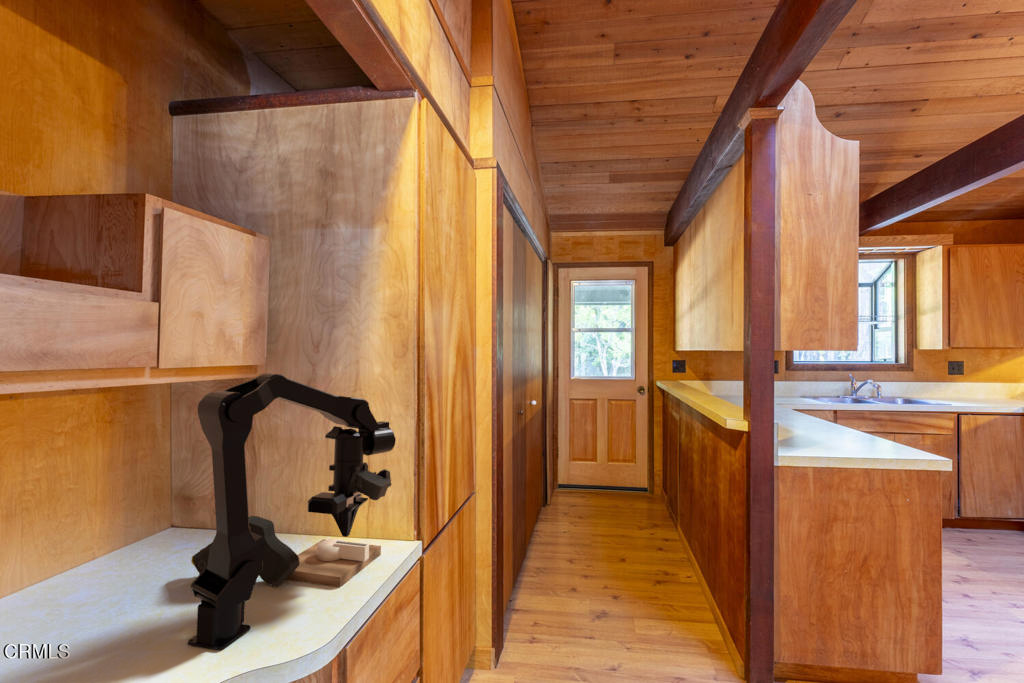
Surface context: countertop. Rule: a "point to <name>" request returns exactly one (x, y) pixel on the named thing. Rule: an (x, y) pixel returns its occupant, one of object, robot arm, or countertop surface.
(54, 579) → the countertop surface
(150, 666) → the countertop surface
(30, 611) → the countertop surface
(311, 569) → the panel
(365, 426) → the robot arm
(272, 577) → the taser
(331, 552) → the cream elongated piece
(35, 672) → the countertop surface
